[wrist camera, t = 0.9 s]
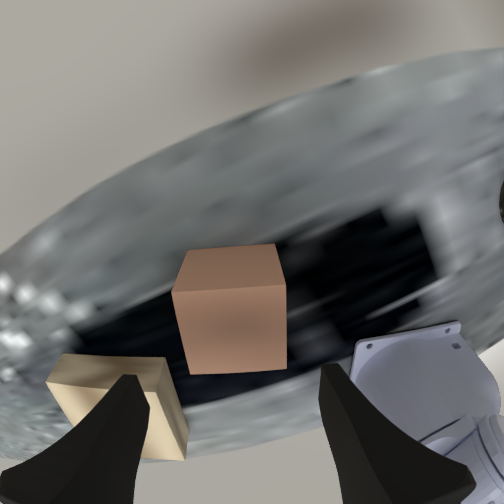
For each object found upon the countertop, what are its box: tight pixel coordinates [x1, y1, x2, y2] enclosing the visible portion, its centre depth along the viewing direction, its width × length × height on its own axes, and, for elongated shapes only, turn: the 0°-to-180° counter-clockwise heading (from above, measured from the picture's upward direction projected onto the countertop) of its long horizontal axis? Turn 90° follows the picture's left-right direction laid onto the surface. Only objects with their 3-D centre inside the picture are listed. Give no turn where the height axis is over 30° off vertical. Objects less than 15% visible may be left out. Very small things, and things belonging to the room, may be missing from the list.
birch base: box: [46, 353, 189, 460], centre depth 21 cm, size 9×9×4 cm
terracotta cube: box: [171, 244, 287, 374], centre depth 17 cm, size 5×5×5 cm
